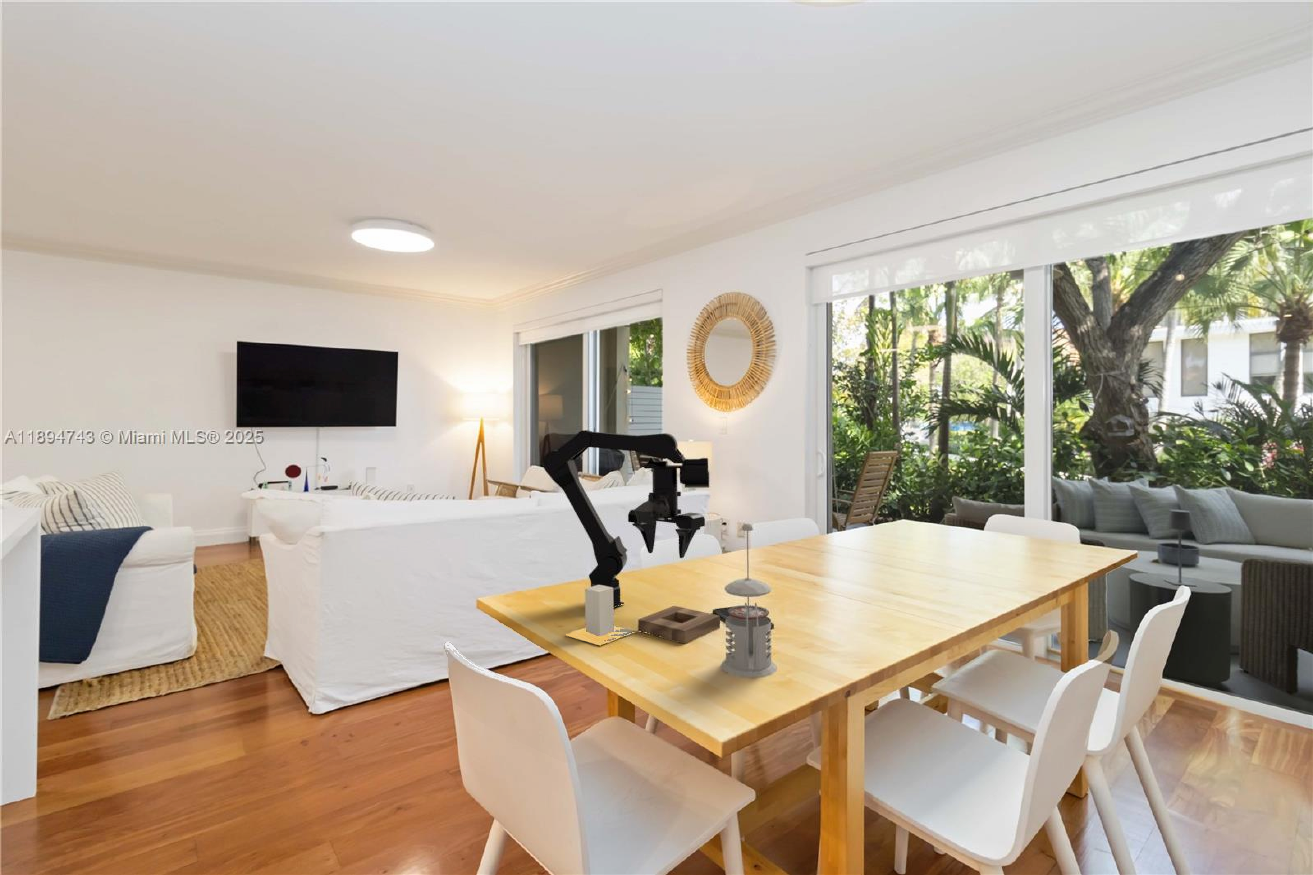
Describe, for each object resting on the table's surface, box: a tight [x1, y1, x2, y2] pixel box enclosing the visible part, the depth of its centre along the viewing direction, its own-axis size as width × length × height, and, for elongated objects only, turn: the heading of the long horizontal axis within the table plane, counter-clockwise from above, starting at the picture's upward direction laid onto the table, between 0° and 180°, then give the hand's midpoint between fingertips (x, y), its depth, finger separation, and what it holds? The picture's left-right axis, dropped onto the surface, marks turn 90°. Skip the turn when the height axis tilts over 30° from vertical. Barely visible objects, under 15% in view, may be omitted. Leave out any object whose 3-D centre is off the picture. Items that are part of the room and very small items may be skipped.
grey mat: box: [604, 625, 636, 641], centre depth 128 cm, size 10×10×1 cm
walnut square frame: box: [637, 605, 721, 645], centre depth 130 cm, size 12×12×2 cm
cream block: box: [584, 585, 615, 636], centre depth 128 cm, size 4×4×9 cm
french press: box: [720, 523, 778, 679], centre depth 109 cm, size 10×12×25 cm
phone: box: [712, 606, 775, 630], centre depth 136 cm, size 8×1×15 cm
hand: (665, 555), depth 146 cm, fingers open, 9 cm apart
